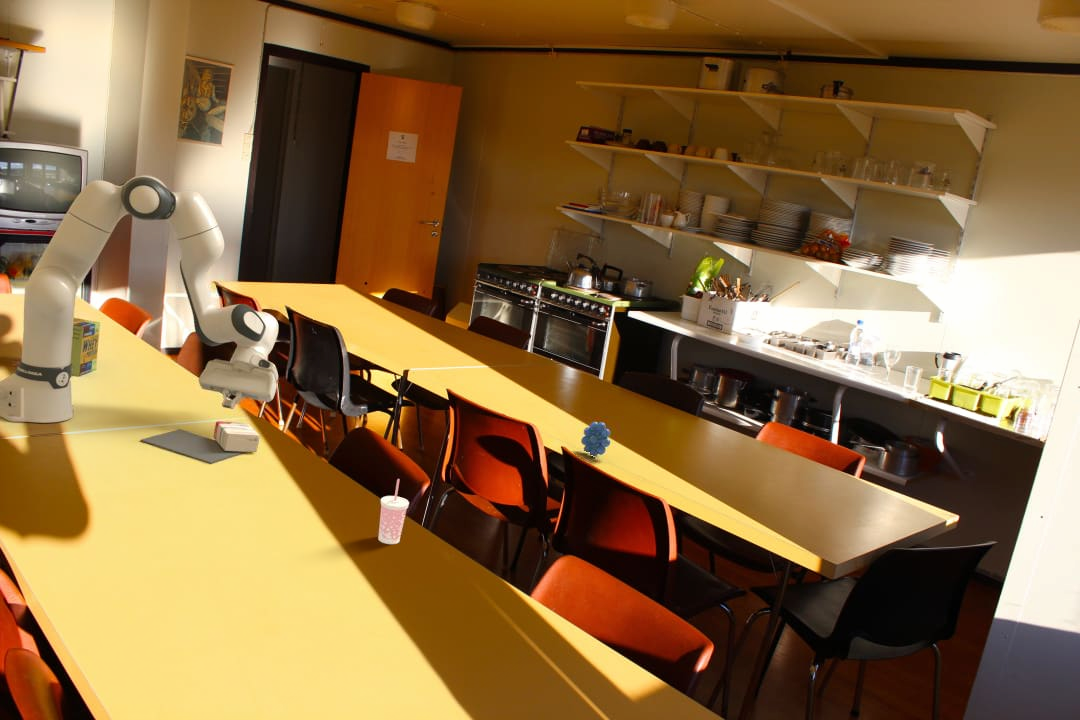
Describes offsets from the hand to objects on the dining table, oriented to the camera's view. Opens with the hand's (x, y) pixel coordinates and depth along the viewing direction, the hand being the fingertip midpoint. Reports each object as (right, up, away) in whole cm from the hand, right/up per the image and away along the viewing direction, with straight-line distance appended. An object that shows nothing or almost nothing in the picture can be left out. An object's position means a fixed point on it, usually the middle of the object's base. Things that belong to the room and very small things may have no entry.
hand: (227, 407), depth 238 cm
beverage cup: (+50, -27, -43) cm, 71 cm away
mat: (-6, -10, -8) cm, 14 cm away
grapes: (+101, -19, +48) cm, 113 cm away
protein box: (-64, +10, +38) cm, 75 cm away
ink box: (0, -6, +2) cm, 6 cm away
